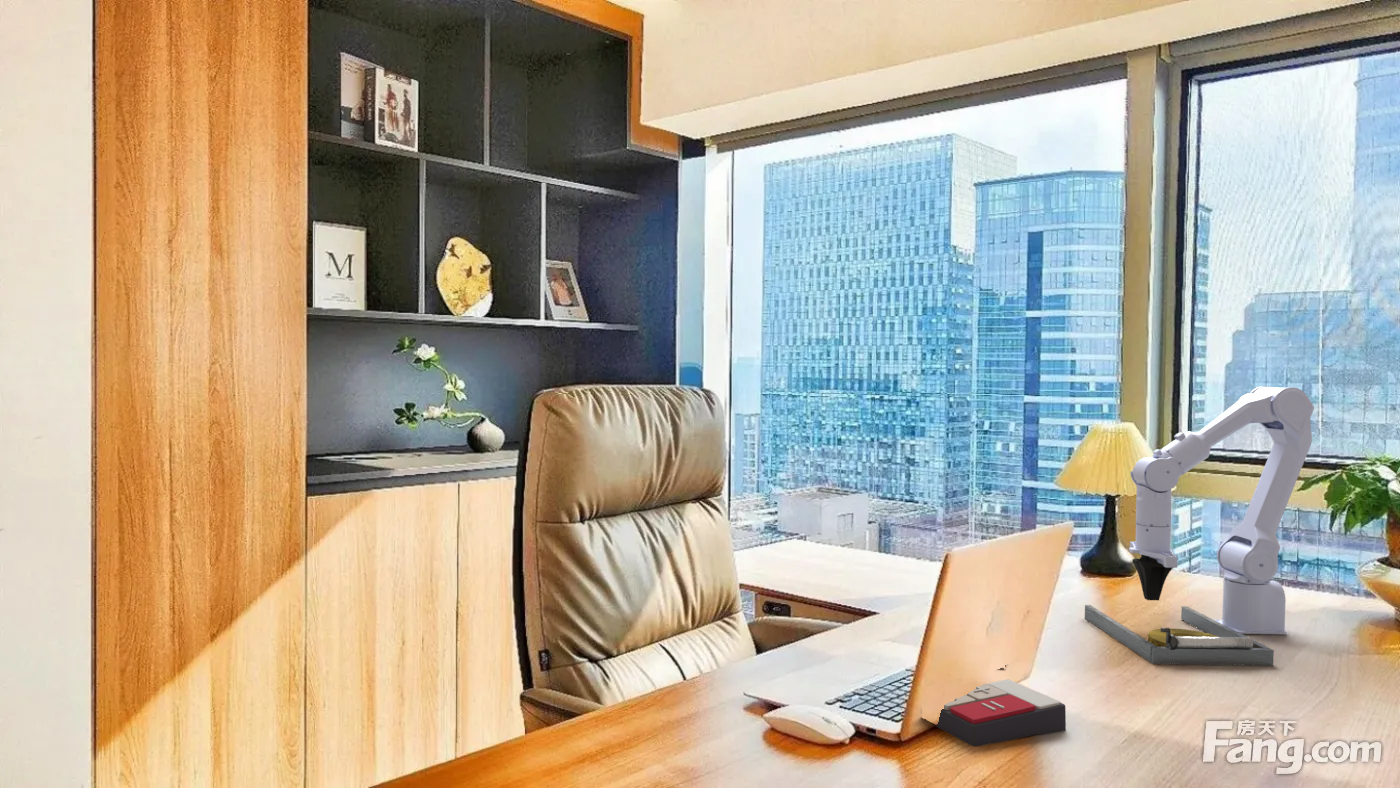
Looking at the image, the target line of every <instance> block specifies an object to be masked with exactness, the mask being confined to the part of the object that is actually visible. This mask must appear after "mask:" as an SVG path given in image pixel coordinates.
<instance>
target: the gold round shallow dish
mask: <svg viewBox="0 0 1400 788" xmlns="http://www.w3.org/2000/svg"><path fill="white" fill-rule="evenodd" d="M1160 629H1161V628H1157V629H1151V630H1150V631H1148V634H1147V636H1148V637H1147V641H1149V642H1150V643H1152V644H1154V645H1155V646H1157V647H1167V645H1166V632H1161V630H1160ZM1170 634H1173V635H1174V636H1186V637H1219V636H1216V635H1212V634H1209V633H1205V632H1203V631H1199V630H1192V629H1184V628H1170Z"/></svg>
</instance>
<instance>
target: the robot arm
mask: <svg viewBox="0 0 1400 788" xmlns="http://www.w3.org/2000/svg"><path fill="white" fill-rule="evenodd" d="M1314 410H1315V406H1314V405H1313V403H1312V402H1311V400H1310V399H1309V397H1308V395H1307V394H1306V392H1304V391H1303V390H1302V389H1301V388H1298V387H1294V386H1293V387H1292V386H1288V387H1276V386H1275V387H1274V386H1267V385H1261V386H1257V387H1256V388H1254V389H1252V390H1251V391H1250V393H1246V394H1244V395H1242V396H1241V397H1240V398H1239V399H1237V401H1236V402H1235V403H1234V404H1232V405H1230V407H1229V408H1227V409H1226V410H1224V412H1222V413H1221V414H1220V415H1218V416H1217V417H1216V418H1215V419H1213V420H1212V421H1210V422H1208V423H1207V425H1205V426H1204V427H1202V429H1200V430H1199V431H1197V432H1194V431H1190V430H1189V431H1185V432H1184V433H1183V432H1178V433H1175V435H1174V436H1173V437H1174V439H1173V440H1172V441H1171V442H1169V443H1167V445H1165V446H1164V447H1162V448H1160V449H1157V448H1156V449H1155V450H1153V451H1152V456H1148V457H1147V456H1145V457H1142V458H1140V459H1139V460H1136V462H1135V464H1134V466H1133V468H1132V471H1130V477H1131V480H1132V482H1133V483H1134V484H1135V486H1136V499H1135V503H1136V504H1135V541H1129V547H1128V552H1130V553H1132V554H1138V555H1140V557H1139V558H1133V559H1132V564H1133V565H1134V566H1133V567H1135V569H1136V572H1137V574H1138V577H1139V580H1140V585H1141V589H1142V593H1143V595H1142V596H1143V598H1144V599H1145V600H1146V601H1160V598H1161V595H1162V592H1163V588H1164V584H1165V582H1166V580H1167V577H1168V576H1169V574H1170V572H1171V571H1172V570H1173V568H1178V556H1177V555H1175V554H1174V553H1173V550H1172V549H1171V538H1172V537H1171V535H1172V533H1171V530H1172V529H1171V528H1172V527H1171V525H1172V521H1171V520H1172V489H1174V488H1175V487H1176V486H1177V484H1178V482H1179V479H1180V477H1181V476H1183V475H1184V474H1186V473H1187V472H1189V471H1191V470H1192V469H1193V468H1195V467H1196V466H1198V465H1199V464H1200V463H1202V462H1203V461H1205V460H1206V459H1208V458H1209V457H1210V453H1211V449H1212V447H1213V446H1215V445H1216V444H1219V442H1221V441H1223V440H1224V439H1227V438H1228V437H1229V436H1231V435H1233V434H1234V433H1237V432H1238V431H1239V430H1241V429H1243V428H1245V427H1246V426H1248V425H1249V424H1260V425H1261V426H1262V427H1263V428H1264V429H1266V431H1267V433H1268V434H1269V436H1270V437H1271V438H1270V439H1272V441H1273V444H1272V447H1271V449H1270V452H1269V454H1268V458H1267V460H1266V462H1265V465H1264V467H1263V469H1262V472H1261V475H1260V477H1259V480H1258V483H1257V485H1256V486H1255V490H1254V493H1253V495H1252V497H1251V500H1250V503H1249V504H1248V508H1247V509H1246V512H1245V515H1244V517H1243V520H1242V521H1241V523H1240V524H1238V525H1236V526H1235V527H1234V528H1233V529H1231V530H1230V532H1229V535H1228V536H1227V538H1226V539H1225V540H1224V541H1223V542H1222V543H1221V544H1220V545H1219V547H1218V549H1217V550H1216V551H1217V552H1216V559H1217V563H1218V564H1219V566H1220V567H1221V569H1223V574H1222V575H1223V581H1222V582H1223V585H1222V587H1223V589H1222V613H1221V614H1222V615H1221V616H1222V617H1221V618H1222V619H1214V620H1215V621H1217V622H1219V623H1221V624H1223V625H1225V626H1227V627H1229V628H1231V629H1233V630H1235V631H1237V632H1239V633H1241V634H1243V635H1246V634H1247V635H1288V632H1287V630H1286V629H1285V628H1286V626H1285V625H1286V624H1285V623H1286V601H1287V600H1286V594H1285V589H1284V587H1283V586H1282V584H1281V583H1279V582H1278V581H1276V580H1271V579H1274V577H1275V575H1276V574H1277V571H1278V570H1279V569H1278V567H1279V561H1278V560H1279V559H1278V558H1279V552H1280V549H1281V544H1280V542H1279V541H1278V538H1277V535H1276V533H1277V531H1278V528H1279V525H1280V523H1281V520H1282V518H1283V517H1284V516H1283V515H1284V513H1285V510H1286V508H1287V506H1288V502H1289V500H1290V498H1291V496H1292V493H1293V490H1294V489H1295V485H1296V483H1297V481H1298V478H1299V476H1300V472H1301V471H1302V467H1303V466H1304V463H1305V460H1306V458H1307V457H1308V452H1309V450H1310V448H1311V445H1312V442H1313V437H1312V425H1311V424H1312V423H1311V422H1312V421H1311V416H1312V414H1313V412H1314Z"/></svg>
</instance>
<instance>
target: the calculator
mask: <svg viewBox="0 0 1400 788" xmlns="http://www.w3.org/2000/svg"><path fill="white" fill-rule="evenodd" d="M984 683H985V684H983V685H981V686H979V687H978V686H977V687H976V689H974V690H973V691H971V692H969V693H968V694H967V695H964V696H962V697H960V698H958V699H957V698H955V700H954V701H951V702H949V703H947V704H945V705H944V709H942V710H941V713H940V717H939V722H938V724H937V726H936V728H939V729H940V730H942V731H943V732H946V733H948V734H949V735H951V736H952V737H955V738H956V739H959V741H962V742H964V743H966V744H967V745H969V746H972V747H980V746H987V745H993V744H998V743H1004V742H1009V741H1013V740H1017V739H1023V738H1026V737H1030V736H1035V735H1040V736H1043V735H1050V734H1054V733H1060V732H1066V731H1067V726H1066V725H1067V723H1066V720H1067V718H1066V712H1067V711H1066V704H1065V703H1063V702H1061V701H1059V700H1058V699H1055V698H1053V697H1050V696H1048V695H1046V694H1044V693H1042V692H1039V691H1037V690H1034V689H1032V688H1030V687H1028V686H1025V685H1023V684H1021V683H1018V682H1016V681H1013V680H1011V679H1008V678H1007V679H1001V680H998V681H993V682H989V683H986V682H984Z"/></svg>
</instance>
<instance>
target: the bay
mask: <svg viewBox="0 0 1400 788" xmlns="http://www.w3.org/2000/svg"><path fill="white" fill-rule="evenodd" d="M1084 619H1085V620H1087V621H1088V622H1089V623H1091V624H1093V625H1094V626H1095V627H1097V628H1098V629H1100V630H1102V631H1103V632H1104V633H1105V634H1107V635H1110V636H1111V637H1112V638H1113V639H1115V640H1117V641H1118V642H1120V643H1121V644H1122V645H1124V646H1125V647H1126V648H1128V649H1130V650H1132V652H1135V653H1136V654H1137V655H1139V656H1141V657H1142V658H1143V659H1145V660H1146V661H1147V662H1149V663H1151V664H1152V665H1184V666H1185V665H1187V666H1189V665H1191V666H1192V665H1194V666H1195V665H1196V666H1197V665H1199V666H1201V665H1202V666H1263V667H1264V666H1265V667H1268V666H1269V667H1273V666H1274V663H1275V661H1274V659H1275V658H1274V657H1275V653H1274V652H1275V649H1272V648H1270V647H1268V646H1266V645H1264V644H1262V643H1260V642H1259V641H1258V640H1257V641H1256V640H1255V639H1253V638H1251V637H1248V636H1247V635H1246V634H1241V633H1239V632H1237V631H1235V630H1233V629H1231V628H1229V627H1227V626H1225V625H1223V624H1221V623H1219V622H1217V621H1215V620H1216V619H1213V618H1211V617H1209V616H1207V615H1205V614H1203V613H1201V612H1199V611H1197V610H1195V609H1193V608H1191V607H1189V606H1188V605H1187V606H1181V617H1180V619H1182V620H1181V621H1183V620H1184V621H1183V622H1184V623H1186V622H1187V624H1188V623H1189V625H1190V624H1191V625H1190V626H1192V625H1193V626H1192V627H1194V626H1195V627H1194V628H1196V627H1197V628H1196V629H1198V630H1200V631H1201V630H1202V631H1201V632H1203V631H1204V633H1205V632H1206V633H1209V634H1212V635H1216V636H1219V637H1186V636H1174V635H1173V634H1170V629H1171V628H1169V627H1160V628H1159V629H1160V630H1161V632H1166V645H1167V647H1157V646H1155V645H1154V644H1152V643H1150V642H1149V641H1148V639H1145V638H1143V637H1142V636H1141V635H1139V634H1137V633H1136V632H1134V631H1133V630H1131V629H1129V628H1128V627H1126V626H1125V625H1123V624H1121V623H1120V622H1118V621H1117V620H1115V619H1114V618H1113V617H1110V616H1109V615H1107V614H1106V613H1103V612H1102V611H1101V610H1099V609H1098V608H1096V607H1094V606H1093V605H1091V604H1085V605H1084Z"/></svg>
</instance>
